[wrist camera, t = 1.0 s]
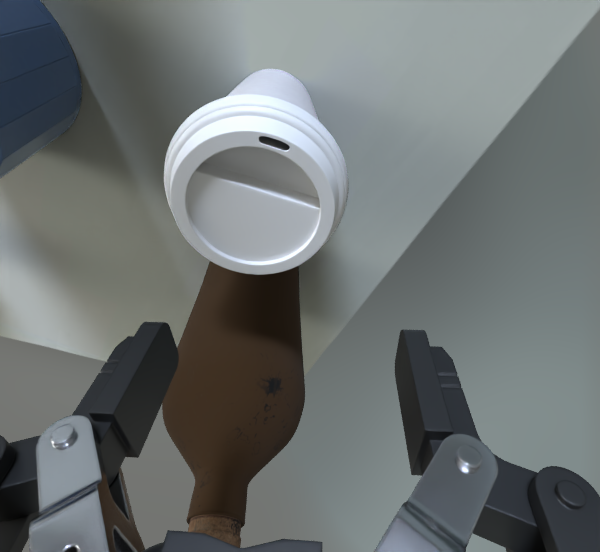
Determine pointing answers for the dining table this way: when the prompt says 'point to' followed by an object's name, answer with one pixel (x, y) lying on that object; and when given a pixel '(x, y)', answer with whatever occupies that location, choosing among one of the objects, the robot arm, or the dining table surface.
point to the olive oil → (235, 390)
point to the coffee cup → (256, 177)
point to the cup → (33, 81)
